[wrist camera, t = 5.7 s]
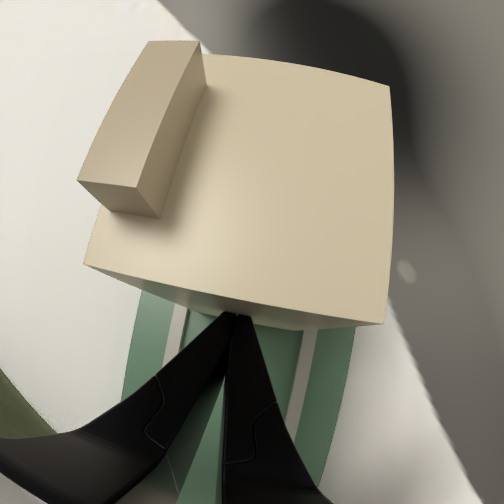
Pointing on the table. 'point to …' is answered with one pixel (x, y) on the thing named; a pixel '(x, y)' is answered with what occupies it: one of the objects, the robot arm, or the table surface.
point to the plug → (246, 188)
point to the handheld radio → (18, 414)
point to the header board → (280, 371)
